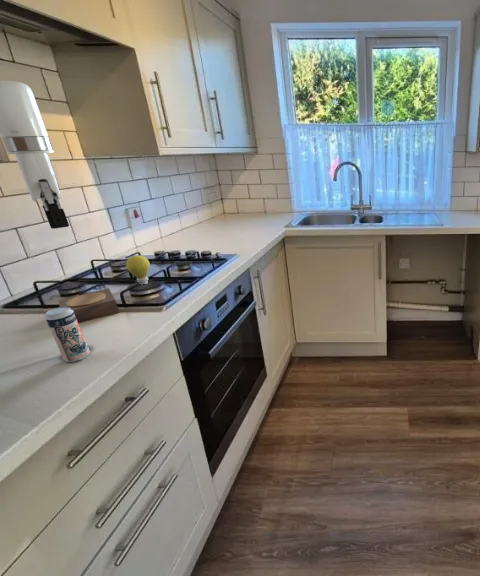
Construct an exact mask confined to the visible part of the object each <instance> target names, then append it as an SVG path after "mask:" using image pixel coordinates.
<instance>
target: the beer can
mask: <svg viewBox="0 0 480 576" xmlns="http://www.w3.org/2000/svg"><path fill="white" fill-rule="evenodd" d="M44 319H45V321H46V324H47V325H48V328H49V330H50V332H51V335H52V337H53V339H54V341H55V344H56V345H57V348H58V350H59V352H60V355H61V357H62V360H63V361H64V362H67V363H73V362H78V361H82V360H83V359H85V358H86V357H88V356H89V354H91V351H90V349H89V346H88V344H87V341H86V339H85V336H84V333H83V331H82V328H81V326H80V323H79V324H78V321H77V319H76V316H75V314H74V311H73V310H71V309H70V308H69V307H59V306H58V307H55V308H52V309H50V310H48V311H47V312H45V316H44Z"/></svg>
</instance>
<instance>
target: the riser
mask: <svg viewBox="0 0 480 576" xmlns="http://www.w3.org/2000/svg"><path fill="white" fill-rule="evenodd" d="M59 307H69V308H70V309H71V310H73V311H74V314H75V316H76V319H77V321H78V324H79V325H80V324H83V323H85V322H88V321H89V322H90V321H93V320H97V319H100V318H105V317H109V316H111V315H116V314H119V313H120V309H119V307H118V304H117V301H116V299H115V296H114V295H113V293H112V291H111V289H110V288H104V289H100V290H96V291H91V292H87V293H82V294H79V295H78V294H77V295H75V296H74V295H73V296H69V297H65V298H62V299H58V308H59Z"/></svg>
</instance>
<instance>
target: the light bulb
mask: <svg viewBox="0 0 480 576" xmlns="http://www.w3.org/2000/svg"><path fill="white" fill-rule="evenodd" d="M150 266H151V263H150V261H149V259H148V258H147V257H145V256H143V255H139V254H138V255H133V256H131V257H129V258H128V259H127V260H126V262H125V267H126V269H127V271H128V272H129V273H130V274H131V275H133V276H134V277H136V282H137V283H139V285H140V284H141V285H140V286H144V285H143V284H145V285H147V284H148V281H149V277H148V276H147V275H148V273H149V270H150Z"/></svg>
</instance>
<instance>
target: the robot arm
mask: <svg viewBox="0 0 480 576" xmlns="http://www.w3.org/2000/svg"><path fill="white" fill-rule="evenodd" d="M0 138H1V141H2V143H3V146H4V147H5V149H6V152H7V155H15V157H16V162H17V164H18V167H19V170H20V173H21V175H22V177H23V180H24V182H25V185H26V188H27V190H28V192H29V195H30V198H31V200H32V201H33V202H38V200H40V201H41V202H42V209H43V212H44V214H45V217H46V219H47V221H48V225H49V227H50V228H51V229H53V230H55V229H62V228H68V227H70V224H69V220H68V218H67V216H66V213H65V209H64V208H62V205H61V203H60V201H59V200H60V199H61V198H62V196H61V192H60V187H59V183H58V179H57V177H56V174H55V171H54V168H53V165H52V163H51V159H50V157H49V154H52V153H55V151H54V148H53V145H52V143H51V139H50V137H49V134H48V131H47V128H46V125H45V122H44V120H43V117H42V114H41V112H40V109H39V106H38V103H37V100H36V98H35V95H34V92H33V90H32V88H31V87H30V86H29V84H28V85H27V84H26V83H24V82H20V81H14V80H5V79H3V80H2V79H0Z"/></svg>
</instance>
